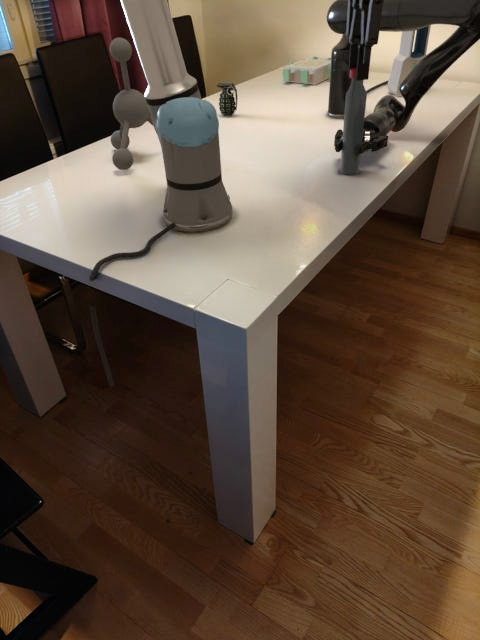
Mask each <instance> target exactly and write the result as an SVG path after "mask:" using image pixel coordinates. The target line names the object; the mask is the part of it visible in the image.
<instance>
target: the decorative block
mask: <svg viewBox="0 0 480 640" xmlns="http://www.w3.org/2000/svg"><path fill="white" fill-rule="evenodd" d="M287 64H288V65H286V66H284V68H282V82H287V83H297V84H305V85H318V84H321V83H322V82H324V81H327V80H330V71H331V57H317V56H313V57H310V58H307V59H306V58H305V59H302V60H299V61H296V62H293V61H290V62H288V63H287Z"/></svg>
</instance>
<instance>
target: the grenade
mask: <svg viewBox="0 0 480 640" xmlns="http://www.w3.org/2000/svg"><path fill="white" fill-rule="evenodd" d="M215 87H217V88H219V89H221V93H219V97H218V101H219V102H218V106H219V108H218V109H219V112H220V114H221V115H222V116H224V117H231V116H233V115H234V113H235V112H236V111H237V108H238V89H237V87H236V85H235V84H234V83H233V82H218V83H217V84H216V86H215ZM232 91H233V92H232ZM234 94H235V96H234Z"/></svg>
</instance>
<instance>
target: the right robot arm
mask: <svg viewBox="0 0 480 640" xmlns="http://www.w3.org/2000/svg"><path fill="white" fill-rule="evenodd" d="M347 10H348V0H334V1H333V2H332V3H331V5H330V6H329V8H328V10H327V13H326V23H327V25H328V27H329V29H330V30H331V31H332V32H334V34H338V35H342V36H341V38H340V40H339V41H338V42H337V43H336V44H335V45H334V46H333V47H332V49H331V54H330V56H331V57H330V58H331V71H330V78H329V87H328V88H329V90H328V106H327V116H328V117H330V118H333V119H344V114H345V101H346V94H347V91H348V89H349V88H350V86H351V84H352V78H350V77H349V76H348V65H349V53H350V44H351V43H349V39H346V27H347ZM429 25H431V26H432V25H447V26H448V25H449V26H457V28H456V30H454V32H452V34H450V36H448V37H447V39H446V40H444V41H443V42H442V43H441V44H439V45H438V46H437V47H435V48H434V49H432V50H431V51H430V52H429V53H426V56H425V57H424V58H423V59H421V60H420V61H419V62H418V63H417V64H416V66H415V67H414V68H413V69H412V70H411V72H410V73H409V74H408V75H407V77H406V78H405V79H404V80H403V82H402V83H401V84H400V87H399V90H400V93H401V95H402V96H401V97H402V99H404V102H405V105H404V104H403V103H402V102H401V101H400V100H399V99H398V98H397V97H395V96H394V95H393V94H386V95H384V96H382V97H381V98H380V99H379V100H378V101H377V103H376V104H375V106H374V108H373V112H371V113H369V114H367V115H365V117H364V126H363V136H362V143H361V144H359V145H358V146H357V151H356V155H360V154H361V155H363V154H364V153H367V152H369V151H370V152H372V153H375V152H378V151H380V150H382V149H384V148H386V147H388V143H389V135H388V134H389V133H390V132H392V133H398V132H401V131H402V130H404V129H405V128H406V127H407V125H408V123H409V121H410V120H411V117H412V116H413V113H414V111H415V109H416V108H417V106H418V105H419V103H420V101H421V100H422V99H423V97H425V95H426V94H427V93H428V92H429V91H430V90H431V88H432V87H433V85H435V84H436V82H437V81H438V80H439V79H440V78H441V77H442V76H443V75H444V73H445V72H446V71H448V69H449V68H450V67H452V65H453V64H454V63H455V62H457V61H458V60H459V59H460V58H461V57H462V56H463V55H464V54H465V53H466V52H468V51H469V50H470V49H471V48H472V47H473V46H474V45H475V44H477V42H479V40H480V0H384V2H383V8H382V15H381V23H380V30H379V32H387V33H388V32H389V33H390V32H391V33H392V32H393V33H400V32H401V33H402V32H408V31H415V32H416V31H417V30H419V29H422V28H424V27H426V26H429ZM359 43H361V42H359ZM388 81H389V79H387V80H386V81H383V82H381V83H379V84H376V85H374V86H371V87H370V88H369V89H366V92H367V93H366V94H368V93H369V92H371V91H373V90H375V89H376V88H379V87H382V86H384V85H386V84H388ZM342 139H343V129H341V128H339V129H337V131H336V132H335V134H334V141H333V147H334V151H335V153H340V152H342ZM361 155H360V156H361Z"/></svg>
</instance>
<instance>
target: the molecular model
mask: <svg viewBox="0 0 480 640" xmlns="http://www.w3.org/2000/svg"><path fill="white" fill-rule="evenodd" d="M109 53H110V55H111V57H112V59H113V60H115V61H116V62H118V63H120V70H121V76H122V81H123V86H124V89H123V90H121V91H119V92H118V93H117V94H116V95H115V97H114V99H113V102H112V112H113V115H114V117H115V119H116V121H117V122H118V123H120V127H119V129H118V130H115V131H114V132H113V133H111V136H110V144H111V145H112V147H113V148H114V149H115V151H114V152H113V153H112V156H111V160H112V163H113V165H114V167H115V168H117V169H118V170H121V171H128V170H129V169H131V167H132V166H133V164H134V156H133V153H131V151H130V150H128V147H129V146H130V141H131V140H130V136H129V133H130V129H138V128H141V127H142V126H144V125H145V123H147V122H148V123H149V124H150V125H151V126H153V122H152V117H151V114H150V111H149V108H148V105H147V102H146V99H145V96H144V94H143V93H142V92H140V91H139V90H137V89H134V88H131V83H130V77H129V72H128V65H127V62H128V61H129V60H130V59H131V57H132V54H133V49H132V45H131V44H130V42H129V41H128V40H127V39H126V38H123V37H116V38H114V39H112V40H111V42H110V44H109Z"/></svg>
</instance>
